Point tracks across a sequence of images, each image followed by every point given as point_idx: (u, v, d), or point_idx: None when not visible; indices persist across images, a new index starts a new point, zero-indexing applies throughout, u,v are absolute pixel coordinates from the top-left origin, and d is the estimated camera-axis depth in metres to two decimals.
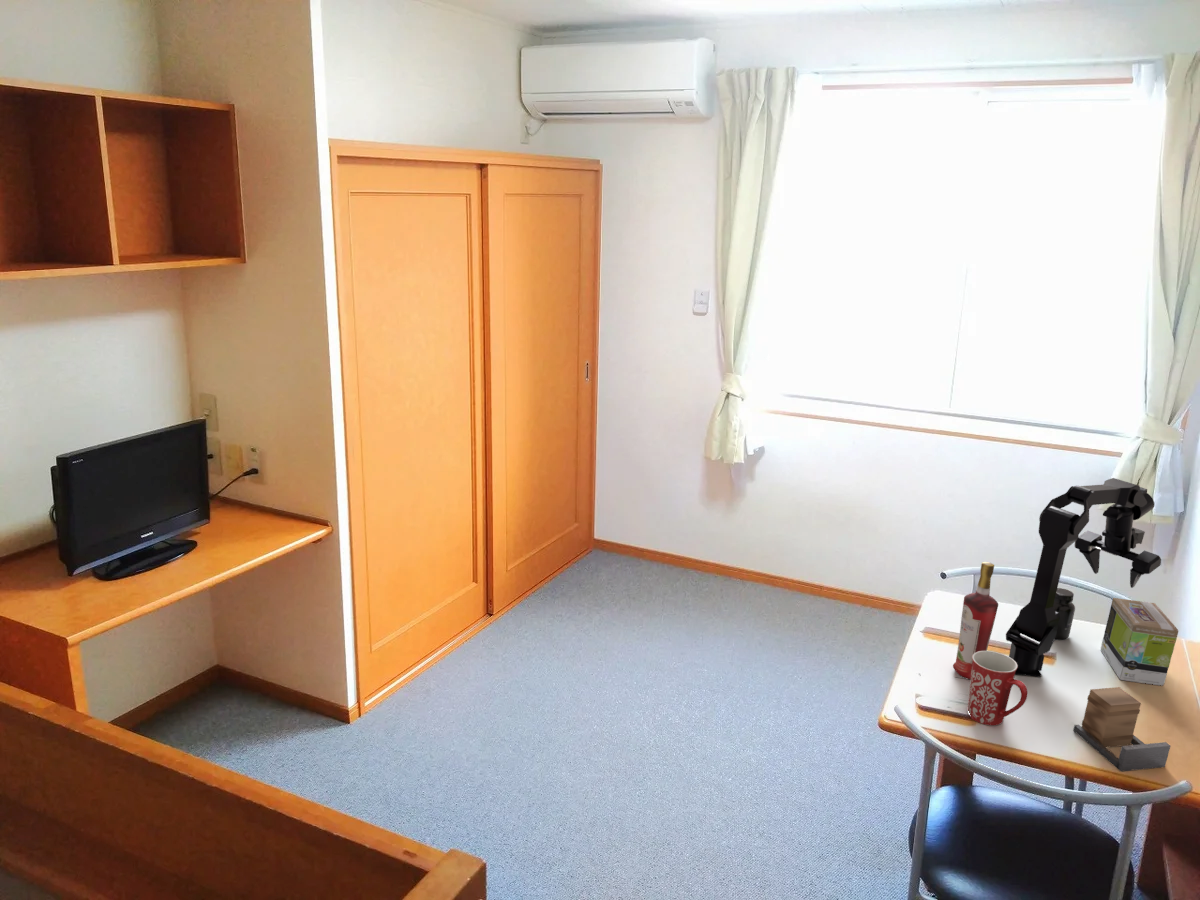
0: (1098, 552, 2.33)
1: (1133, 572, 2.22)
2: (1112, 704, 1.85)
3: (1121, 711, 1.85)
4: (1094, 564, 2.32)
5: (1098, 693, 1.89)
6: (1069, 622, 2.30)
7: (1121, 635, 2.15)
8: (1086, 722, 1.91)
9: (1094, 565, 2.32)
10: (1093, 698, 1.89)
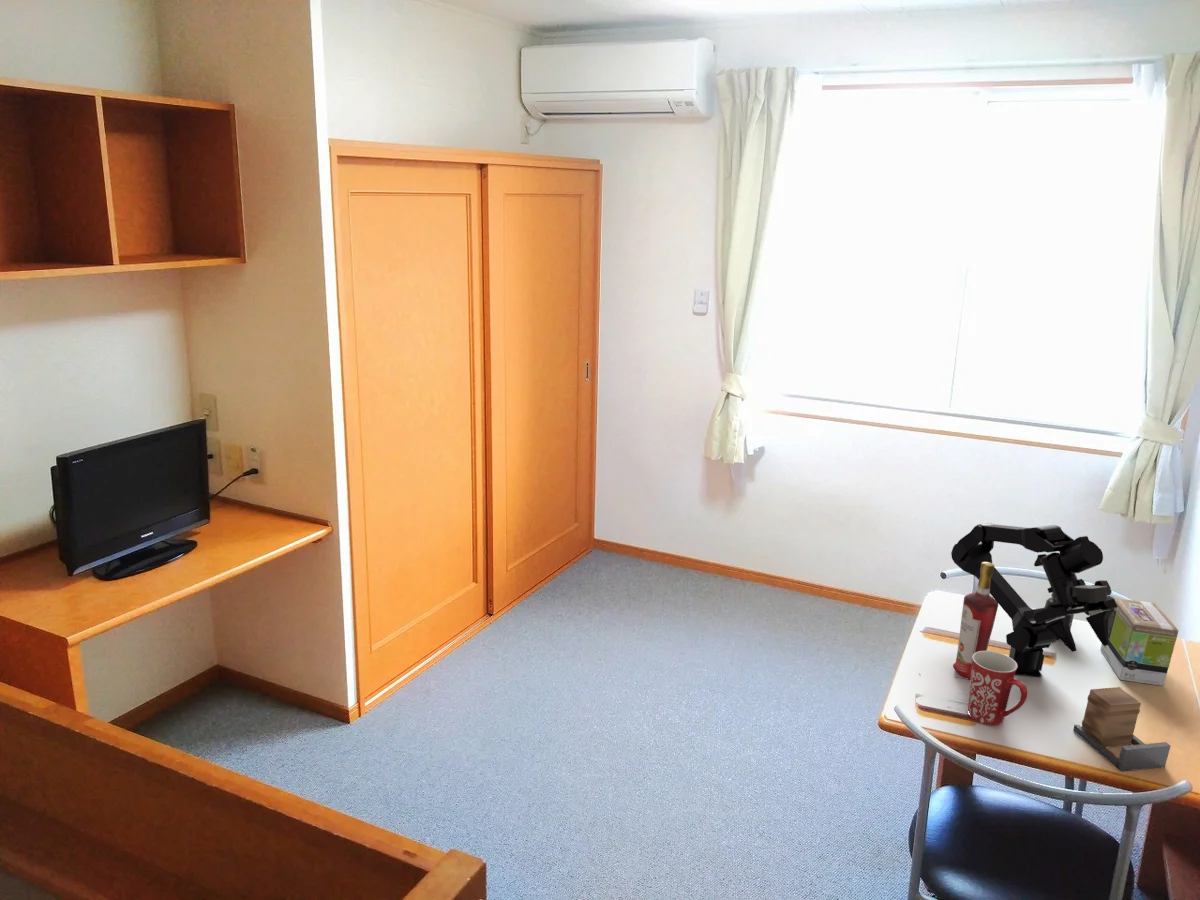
0: (1100, 619, 2.01)
1: None
2: (1112, 704, 1.85)
3: (1121, 711, 1.85)
4: (1096, 632, 2.02)
5: (1098, 693, 1.89)
6: (1069, 622, 2.30)
7: (1121, 635, 2.15)
8: (1086, 722, 1.91)
9: (1097, 633, 2.02)
10: (1093, 698, 1.89)
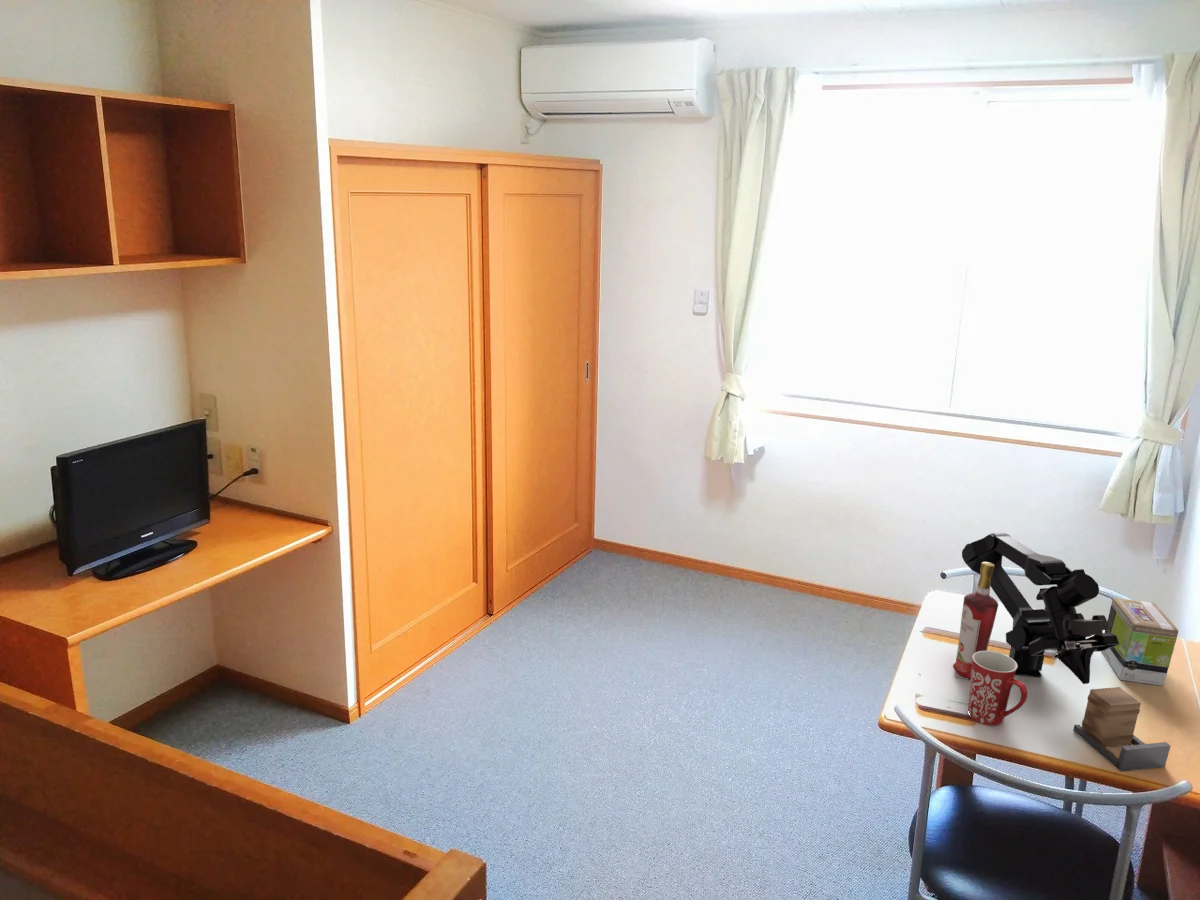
0: (1082, 656, 1.98)
1: None
2: (1112, 704, 1.85)
3: (1121, 711, 1.85)
4: None
5: (1098, 693, 1.89)
6: None
7: (1121, 635, 2.15)
8: (1086, 722, 1.91)
9: None
10: (1093, 698, 1.89)
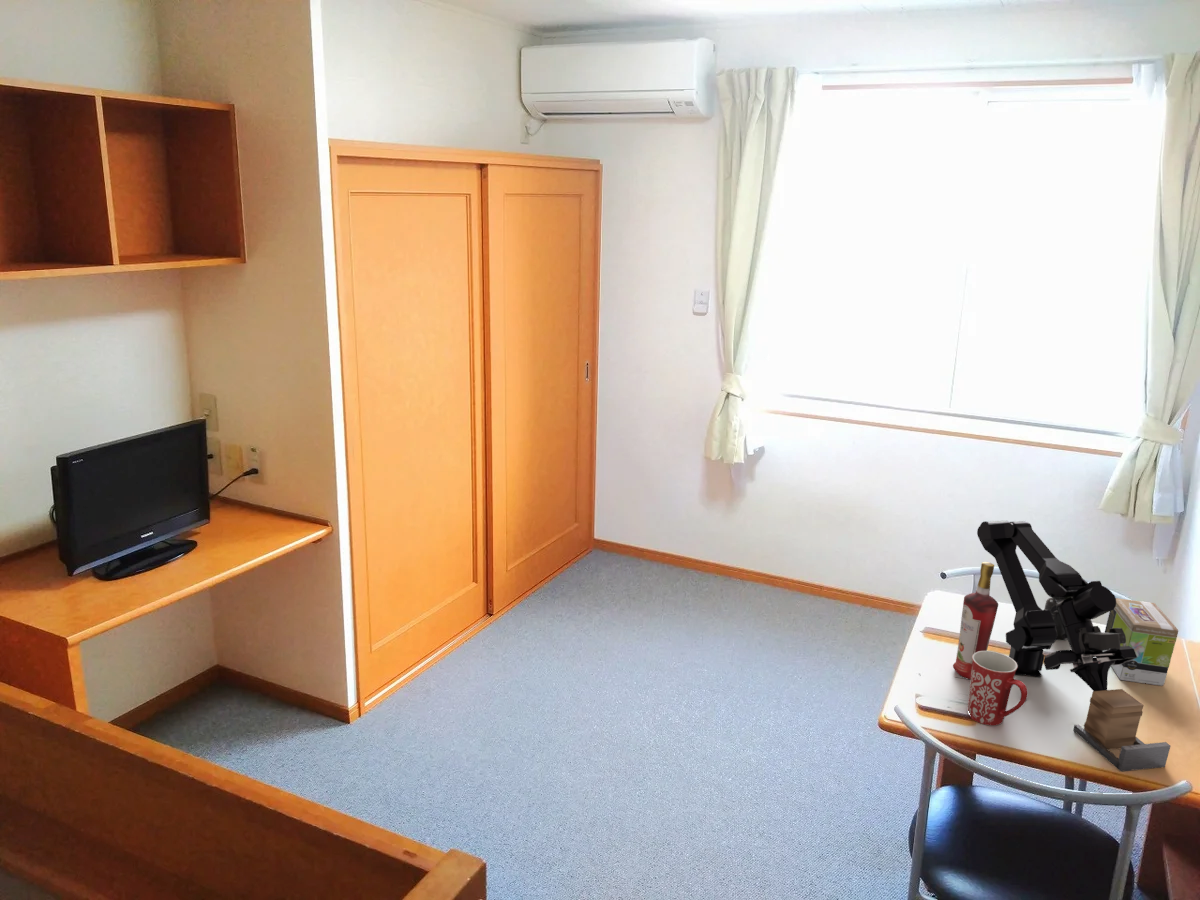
0: (1099, 670, 1.93)
1: None
2: (1114, 706, 1.84)
3: (1123, 713, 1.85)
4: None
5: (1101, 695, 1.88)
6: None
7: None
8: (1088, 724, 1.91)
9: None
10: (1095, 700, 1.89)
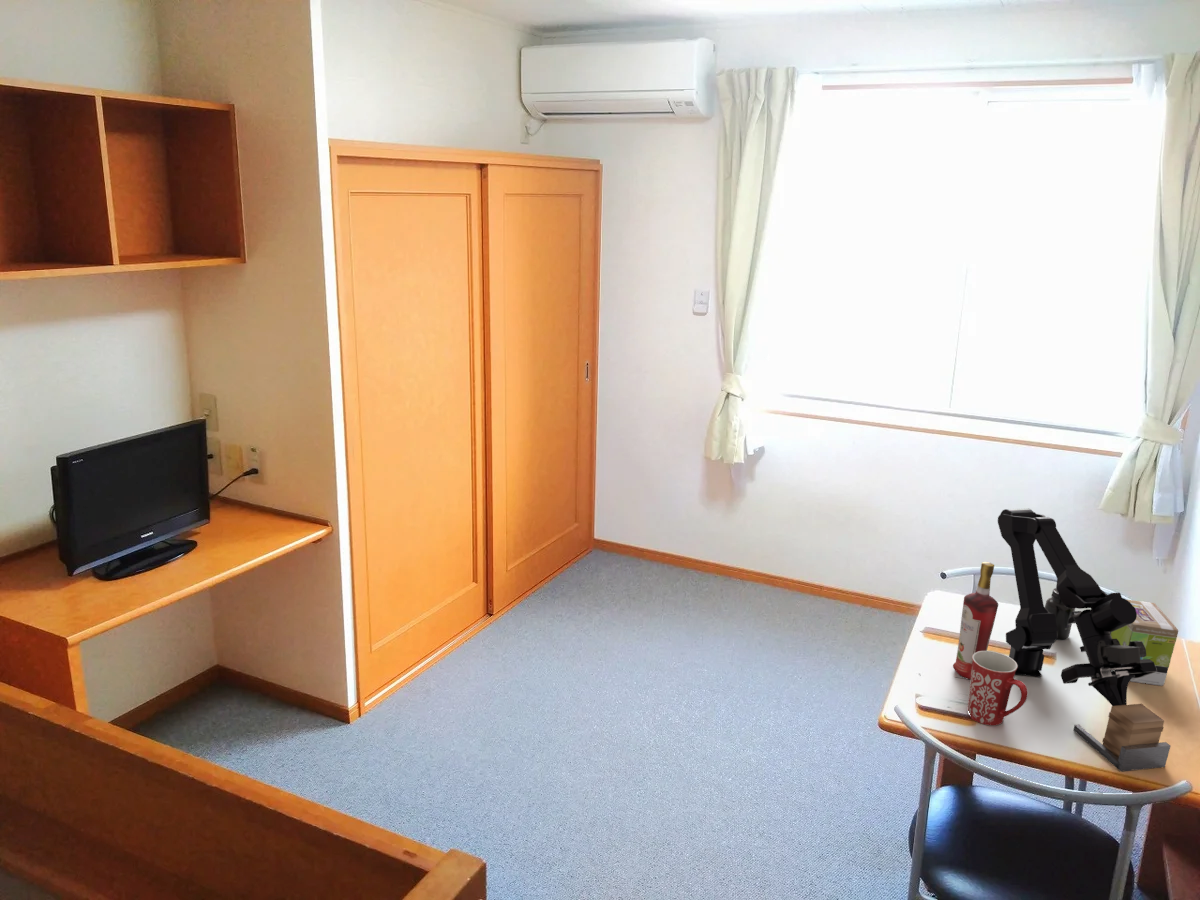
0: (1118, 684, 1.88)
1: None
2: (1134, 722, 1.79)
3: (1144, 728, 1.80)
4: None
5: (1120, 710, 1.83)
6: None
7: (1121, 635, 2.15)
8: (1107, 739, 1.86)
9: None
10: (1115, 715, 1.83)
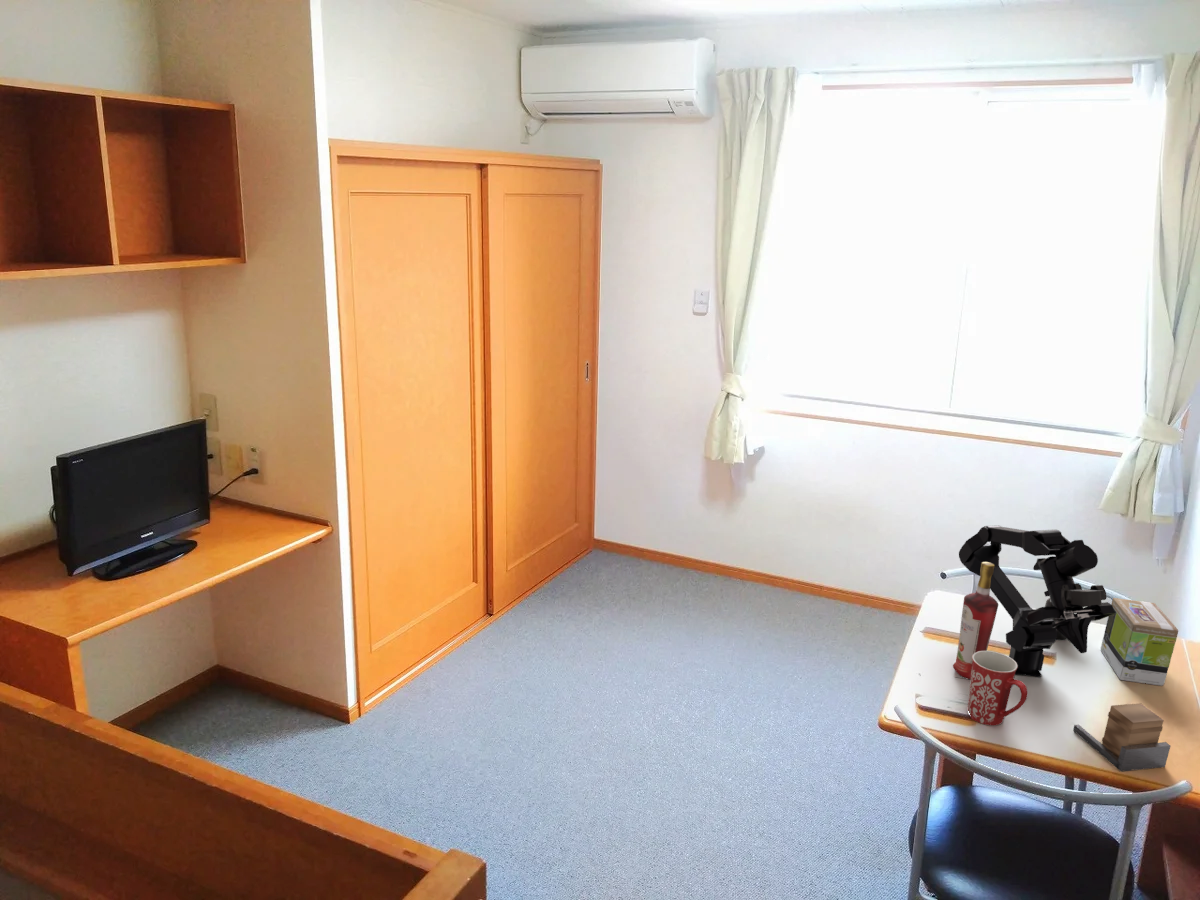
0: (1080, 625, 1.99)
1: None
2: (1134, 722, 1.79)
3: (1143, 728, 1.80)
4: None
5: (1120, 710, 1.83)
6: None
7: (1121, 635, 2.15)
8: (1106, 739, 1.86)
9: None
10: (1114, 715, 1.84)
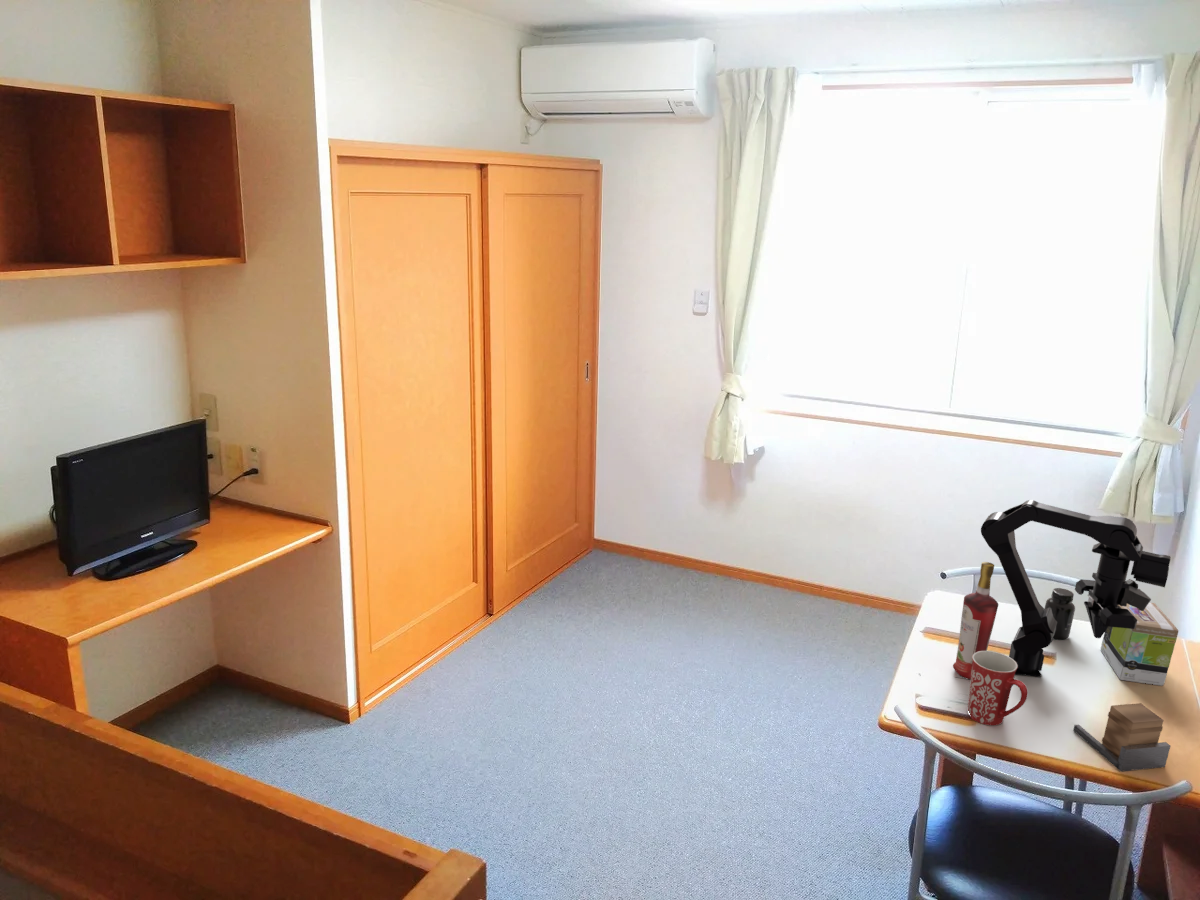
0: None
1: (1092, 613, 2.03)
2: (1134, 722, 1.79)
3: (1143, 728, 1.80)
4: None
5: (1120, 710, 1.83)
6: (1069, 622, 2.30)
7: (1121, 635, 2.15)
8: (1106, 739, 1.86)
9: None
10: (1114, 715, 1.84)
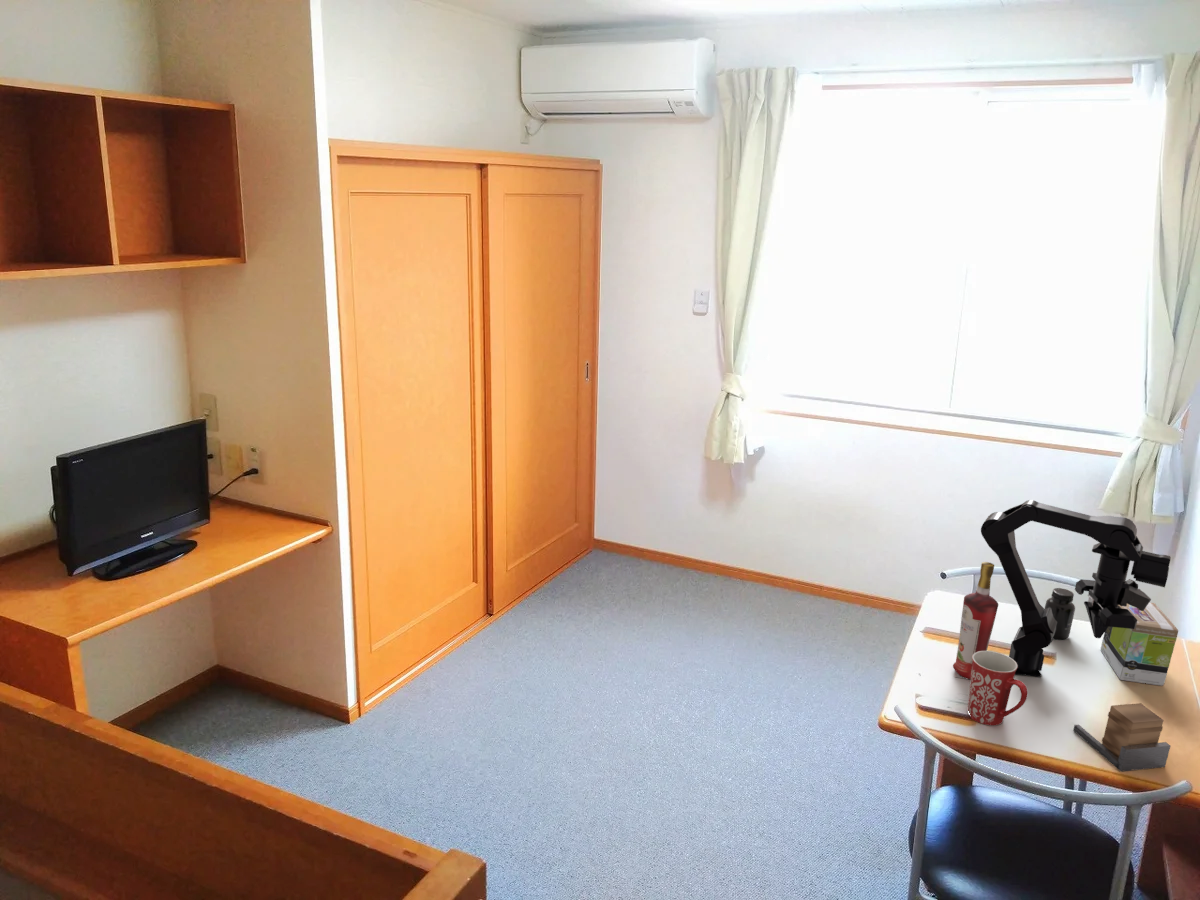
0: None
1: (1092, 613, 2.03)
2: (1134, 722, 1.79)
3: (1143, 728, 1.80)
4: None
5: (1120, 710, 1.83)
6: (1069, 622, 2.30)
7: (1121, 635, 2.15)
8: (1106, 739, 1.86)
9: None
10: (1114, 715, 1.84)
